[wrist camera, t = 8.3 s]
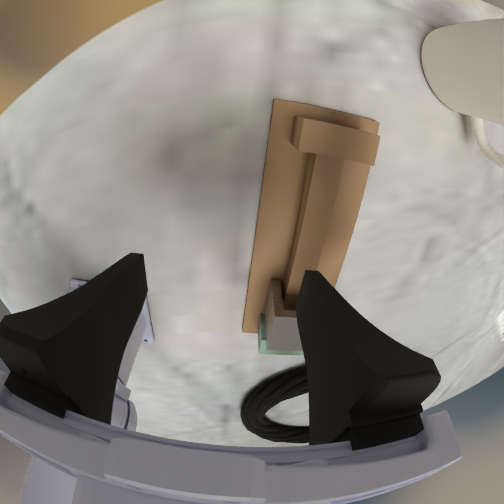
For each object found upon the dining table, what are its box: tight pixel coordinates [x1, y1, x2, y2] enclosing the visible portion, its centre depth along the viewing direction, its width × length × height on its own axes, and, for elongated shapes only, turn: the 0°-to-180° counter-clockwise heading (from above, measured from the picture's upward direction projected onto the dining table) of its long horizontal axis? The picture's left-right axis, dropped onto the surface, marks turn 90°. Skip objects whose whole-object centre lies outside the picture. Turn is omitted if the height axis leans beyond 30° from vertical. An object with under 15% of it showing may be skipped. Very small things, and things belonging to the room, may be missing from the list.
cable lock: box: [240, 367, 309, 443], centre depth 36 cm, size 28×4×30 cm
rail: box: [242, 99, 380, 355], centre depth 21 cm, size 8×22×4 cm, turn 173°
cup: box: [421, 18, 504, 168], centre depth 10 cm, size 8×12×10 cm
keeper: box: [264, 279, 303, 351], centre depth 23 cm, size 4×4×5 cm
